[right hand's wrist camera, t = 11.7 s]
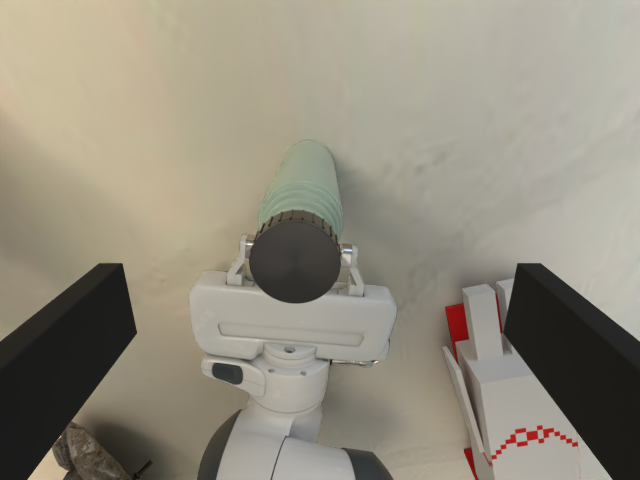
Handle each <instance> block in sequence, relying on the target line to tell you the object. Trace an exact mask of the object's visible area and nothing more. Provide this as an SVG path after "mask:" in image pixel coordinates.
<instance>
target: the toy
mask: <svg viewBox="0 0 640 480" xmlns="http://www.w3.org/2000/svg"><path fill="white" fill-rule="evenodd" d="M513 283H514V278H512V279H507V280H502V281H497V282H496V287H497V295H498V296H496V297H495V291H494V290H493V289H492V288H491V287H490V286H489V285H488V284H482V285H477V286H472V287H467V288H462V296H463V302H464V303H463V304H459V305H454V306H450V307H445V309H446V314H447V319H448V324H449V329H450V334H451V339H452V344H453V349H454V354H455V359H456V361H455V359H454V357H453V356H452V354H451V352H450V351H449V349H448V347H447V346H444V347H442V349H443V352H444V355H445V359H446V362H447V365H448V368H449V372H450V375H451V378H452V381H453V385H454V388H455V391H456V394H457V398H458V401H459V404H460V407H461V411H462V414H463V417H464V420H465V424H466V426H467V428H468V430H469V435H470V441H471V447H472V448H471V449H465V450H464V453H465V456H466V458H467V460H468V463H469V465H470V468H471V470H472V472H473V475H474V477H475V480H581V476H580V464H579V453H578V441H577V431H576V430H575V429H574V427H573V426H572V425H571V423H570V422H569V421H568V419H567V418H566V417H565V415H564V414H563V413H562V411H561V410H560V409H559V407H558V406H557V405H556V403H555V402H554V401H553V399H552V398H551V397H550V395H549V394H548V393H547V391H546V390H545V389H544V387H543V386H542V385H541V383H540V382H539V381H538V379H537V378H536V377H535V375H534V374H533V373H532V371H531V370H530V369H529V367H528V366H527V365H526V363H525V362H524V361H523V359H522V358H521V357H520V355H519V354H518V353H517V351H516V350H515V349H514V347H513V346H512V345H511V343H510V342H509V341H508V339H507V338H506V337H505V335H504V334H503V330H504V325H505V321H506V316H507V311H508V307H509V302H510V297H511V292H512V288H513Z"/></svg>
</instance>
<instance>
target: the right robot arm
mask: <svg viewBox="0 0 640 480" xmlns="http://www.w3.org/2000/svg"><path fill="white" fill-rule="evenodd" d="M136 334H137V330H136V325H135V321H134V316H133V311H132V307H131V302H130V297H129V292H128V288H127V283H126V278H125V273H124V269H123V264H122V263H99V264H98V265H97V266H95V267H94V268H93V269H92V270H90V271H89V272H88V273H86V274H85V275H84V276H83V277H81V278H80V279H79V280H78V281H76V282H75V283H74V284H73V285H71V286H70V287H69V288H67V289H66V290H65V291H64V292H62V293H61V294H60V295H59V296H57V297H56V298H55V299H54V300H52V301H51V302H50V303H49V304H47V305H46V306H45V307H43V308H42V309H41V310H40V311H38V312H37V313H36V314H35V315H33V316H32V317H31V318H30V319H28V320H27V321H26V322H24V323H23V324H22V325H21V326H19V327H18V328H17V329H16V330H14V331H13V332H12V333H11V334H9V335H8V336H7V337H5V338H4V339H3V340H2V341H0V480H27V479H28V478H29V477H30V475H31V474H32V473H33V471H34V470H35V469H36V467H37V466H38V465H39V463H40V462H41V461H42V459H43V458H44V457H45V455H46V454H47V453H48V451H49V450H50V449H51V447H52V446H53V445H54V443H55V442H56V441H57V439H58V438H59V437H60V435H61V434H62V433H63V431H64V430H65V429H66V427H67V426H68V425H69V423H70V422H71V421H72V419H73V418H74V417H75V415H76V414H77V413H78V411H79V410H80V409H81V407H82V406H83V405H84V403H85V402H86V401H87V399H88V398H89V397H90V395H91V394H92V393H93V391H94V390H95V389H96V387H97V386H98V385H99V383H100V382H101V381H102V379H103V378H104V377H105V375H106V374H107V373H108V371H109V370H110V369H111V367H112V366H113V365H114V363H115V362H116V361H117V359H118V358H119V357H120V355H121V354H122V353H123V351H124V350H125V349H126V347H127V346H128V345H129V343H130V342H131V341H132V339H133V338H134V337H135V335H136ZM503 334H504V335H505V337H506V338H507V339H508V341H509V342H510V343H511V345H512V346H513V347H514V349H515V350H516V351H517V353H518V354H519V355H520V357H521V358H522V359H523V361H524V362H525V363H526V365H527V366H528V367H529V369H530V370H531V371H532V373H533V374H534V375H535V377H536V378H537V379H538V381H539V382H540V383H541V385H542V386H543V387H544V389H545V390H546V391H547V393H548V394H549V395H550V397H551V398H552V399H553V401H554V402H555V403H556V405H557V406H558V407H559V409H560V410H561V411H562V413H563V414H564V415H565V417H566V418H567V419H568V421H569V422H570V423H571V425H572V426H573V427H574V429H575V430H576V431H577V433H578V434H579V435H580V437H581V438H582V439H583V441H584V442H585V443H586V445H587V446H588V447H589V449H590V450H591V451H592V453H593V454H594V455H595V457H596V458H597V459H598V461H599V462H600V463H601V465H602V466H603V467H604V469H605V470H606V471H607V473H608V474H609V475H610V477H611V478H612V479H613V480H640V341H638V340H637V339H636V338H635V337H633V336H632V335H631V334H629V333H628V332H627V331H626V330H624V329H623V328H622V327H621V326H619V325H618V324H617V323H616V322H614V321H613V320H612V319H610V318H609V317H608V316H607V315H605V314H604V313H603V312H602V311H600V310H599V309H598V308H597V307H595V306H594V305H593V304H591V303H590V302H589V301H588V300H586V299H585V298H584V297H583V296H581V295H580V294H579V293H578V292H576V291H575V290H574V289H573V288H571V287H570V286H569V285H567V284H566V283H565V282H564V281H562V280H561V279H560V278H559V277H557V276H556V275H555V274H554V273H552V272H551V271H550V270H548V269H547V268H546V267H545V266H543V265H542V264H541V263H518V264H517V269H516V273H515V278H514V283H513V288H512V292H511V297H510V302H509V307H508V311H507V316H506V321H505V325H504V330H503Z"/></svg>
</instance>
